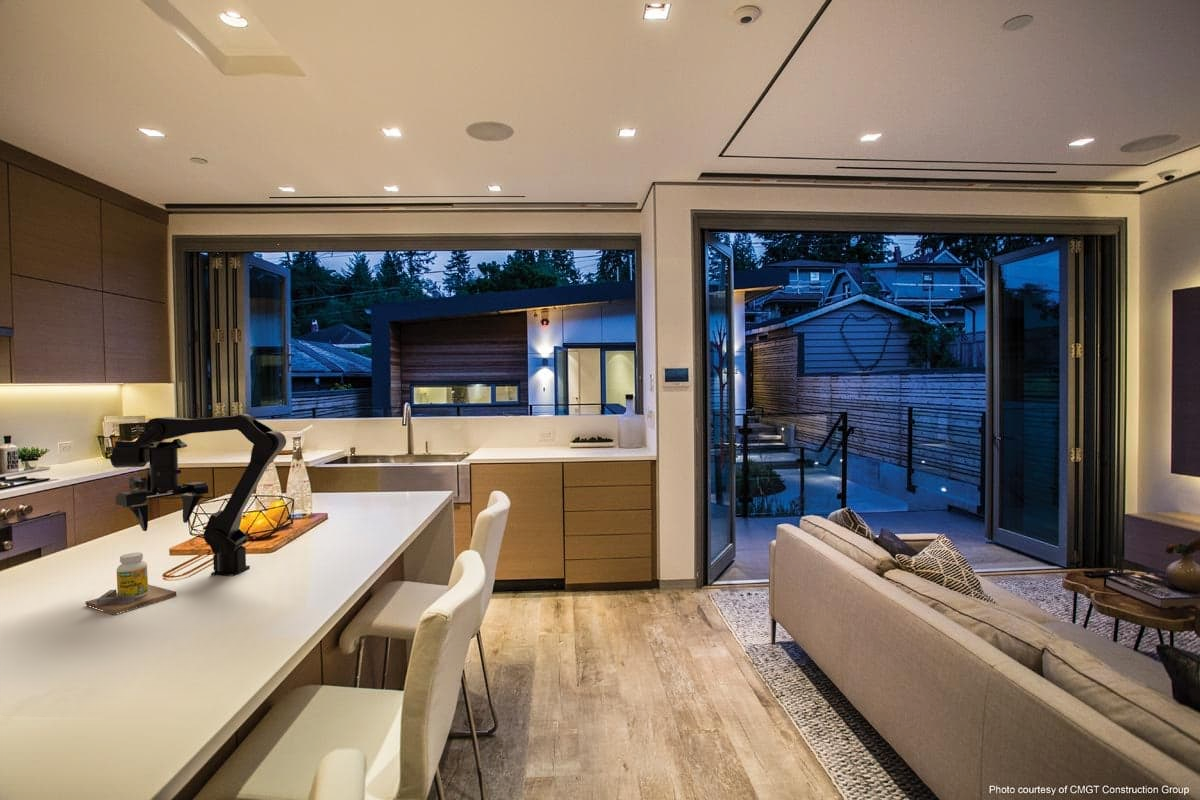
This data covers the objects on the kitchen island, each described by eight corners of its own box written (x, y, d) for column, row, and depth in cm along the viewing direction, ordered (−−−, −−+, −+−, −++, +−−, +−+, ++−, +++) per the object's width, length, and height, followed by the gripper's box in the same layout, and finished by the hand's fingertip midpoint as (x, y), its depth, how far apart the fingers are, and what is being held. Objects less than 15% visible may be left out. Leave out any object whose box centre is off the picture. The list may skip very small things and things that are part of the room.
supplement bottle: (149, 590, 132) (148, 549, 132) (146, 597, 128) (145, 555, 127) (119, 595, 129) (118, 553, 129) (115, 602, 125) (114, 559, 124)
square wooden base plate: (148, 588, 136) (147, 578, 136) (176, 595, 131) (176, 585, 131) (84, 606, 125) (83, 595, 125) (112, 615, 120) (111, 604, 120)
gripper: (185, 460, 156) (187, 516, 156) (102, 469, 139) (104, 532, 139) (209, 462, 151) (211, 519, 151) (127, 472, 134) (129, 536, 135)
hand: (165, 526), depth 144 cm, fingers open, 9 cm apart
